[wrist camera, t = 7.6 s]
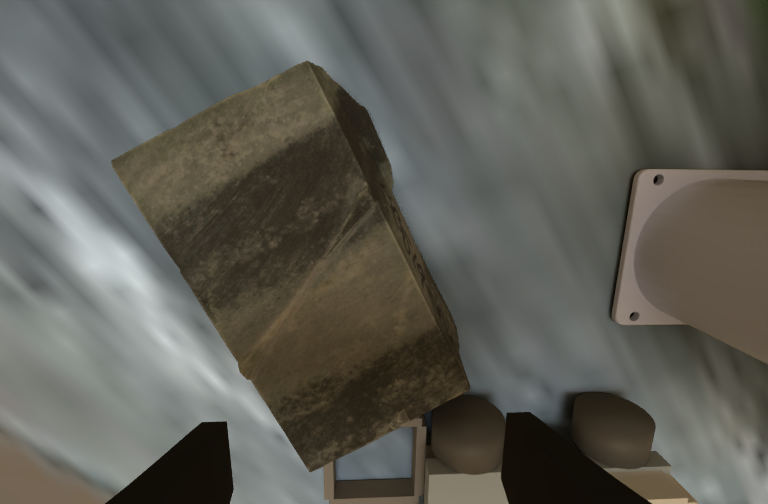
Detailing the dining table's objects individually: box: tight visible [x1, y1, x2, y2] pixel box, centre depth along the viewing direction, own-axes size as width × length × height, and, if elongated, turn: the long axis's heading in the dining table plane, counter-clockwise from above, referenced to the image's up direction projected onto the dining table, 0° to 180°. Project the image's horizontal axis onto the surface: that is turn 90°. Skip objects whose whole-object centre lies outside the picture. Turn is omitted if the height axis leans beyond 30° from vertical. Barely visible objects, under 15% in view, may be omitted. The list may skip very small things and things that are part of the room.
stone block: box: [111, 61, 470, 472], centre depth 16 cm, size 9×14×5 cm, turn 27°
